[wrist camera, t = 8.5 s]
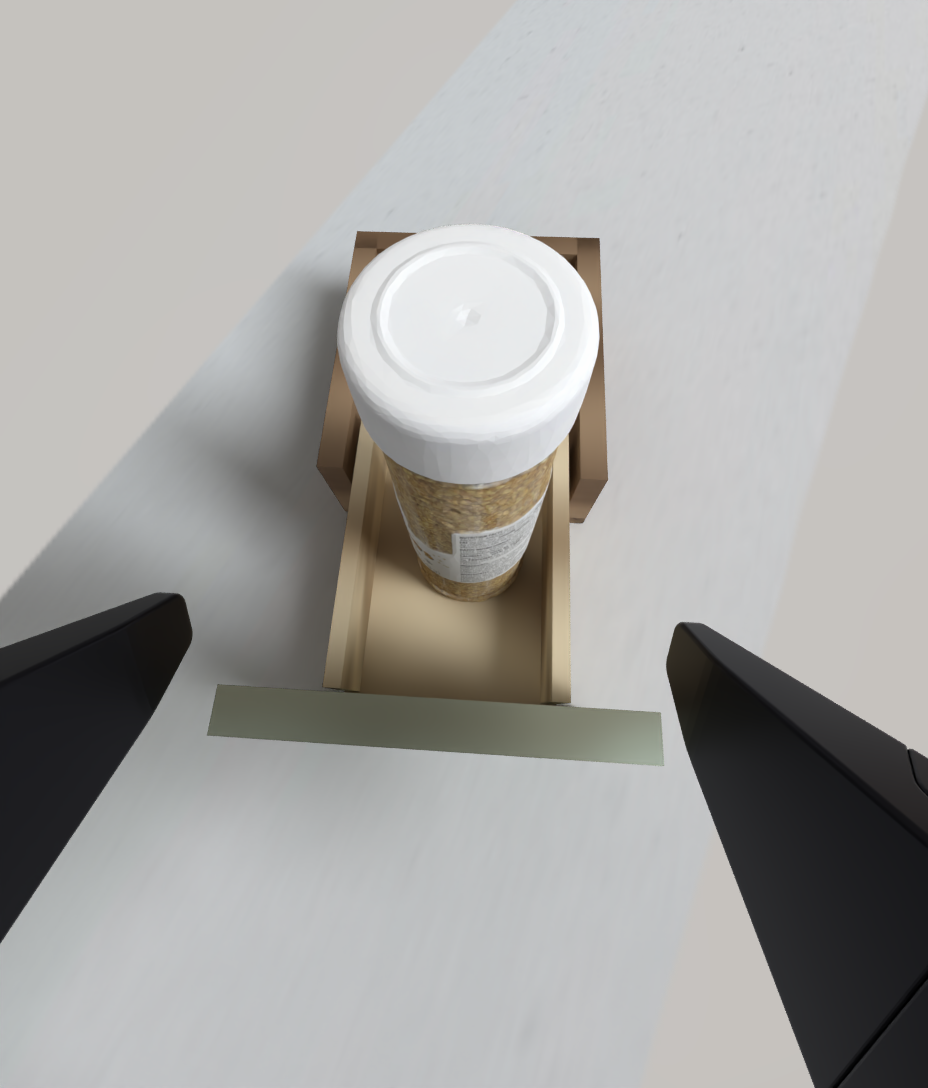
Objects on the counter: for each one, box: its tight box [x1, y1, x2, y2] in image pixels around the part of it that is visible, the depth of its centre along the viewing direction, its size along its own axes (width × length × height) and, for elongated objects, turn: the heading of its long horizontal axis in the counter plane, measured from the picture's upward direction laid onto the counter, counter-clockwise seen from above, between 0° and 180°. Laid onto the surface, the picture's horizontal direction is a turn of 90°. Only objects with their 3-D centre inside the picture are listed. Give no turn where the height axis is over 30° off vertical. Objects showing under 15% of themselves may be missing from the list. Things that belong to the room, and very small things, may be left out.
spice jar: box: [337, 224, 599, 602], centre depth 15 cm, size 5×5×13 cm
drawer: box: [207, 420, 664, 766], centre depth 18 cm, size 12×11×8 cm
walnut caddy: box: [316, 231, 608, 523], centre depth 23 cm, size 12×11×4 cm
